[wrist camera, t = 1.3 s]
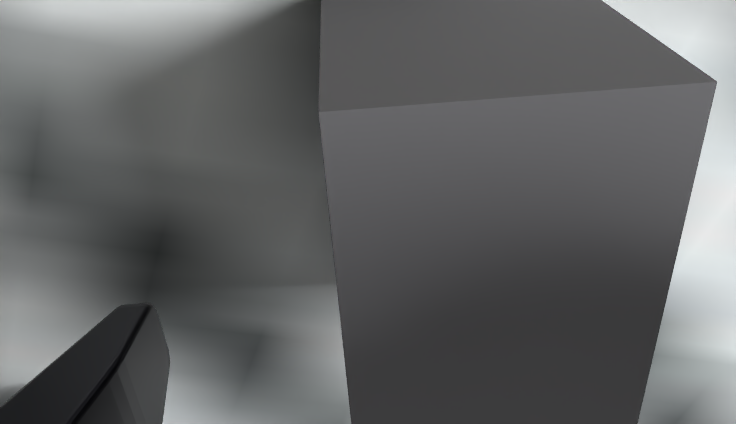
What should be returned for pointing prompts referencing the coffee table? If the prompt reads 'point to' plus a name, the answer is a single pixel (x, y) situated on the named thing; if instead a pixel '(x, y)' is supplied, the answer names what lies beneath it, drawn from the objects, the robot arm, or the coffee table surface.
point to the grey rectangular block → (503, 205)
